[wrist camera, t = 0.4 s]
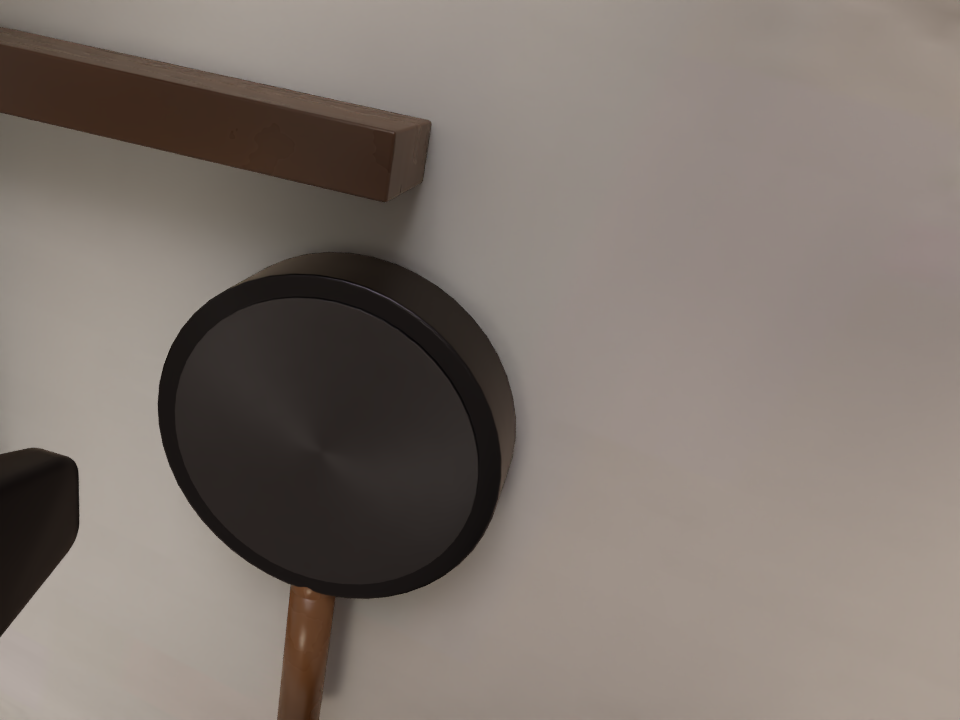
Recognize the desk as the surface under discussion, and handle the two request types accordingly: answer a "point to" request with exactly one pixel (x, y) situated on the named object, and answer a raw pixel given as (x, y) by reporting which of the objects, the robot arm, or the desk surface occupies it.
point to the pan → (337, 437)
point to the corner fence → (212, 116)
